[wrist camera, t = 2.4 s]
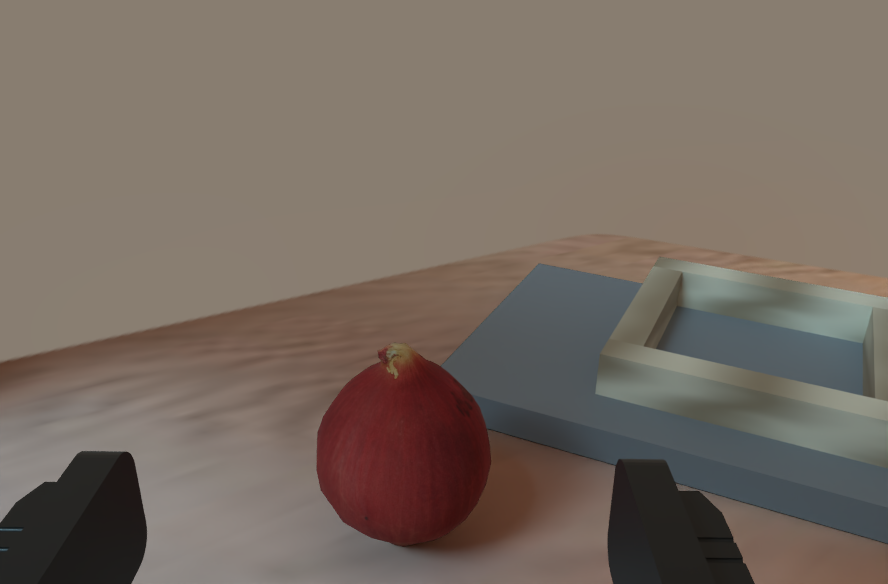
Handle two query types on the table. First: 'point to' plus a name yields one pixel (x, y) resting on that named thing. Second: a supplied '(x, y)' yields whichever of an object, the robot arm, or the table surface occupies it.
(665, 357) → the square frame
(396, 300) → the table surface
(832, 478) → the build board
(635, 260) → the table surface
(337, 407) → the onion
